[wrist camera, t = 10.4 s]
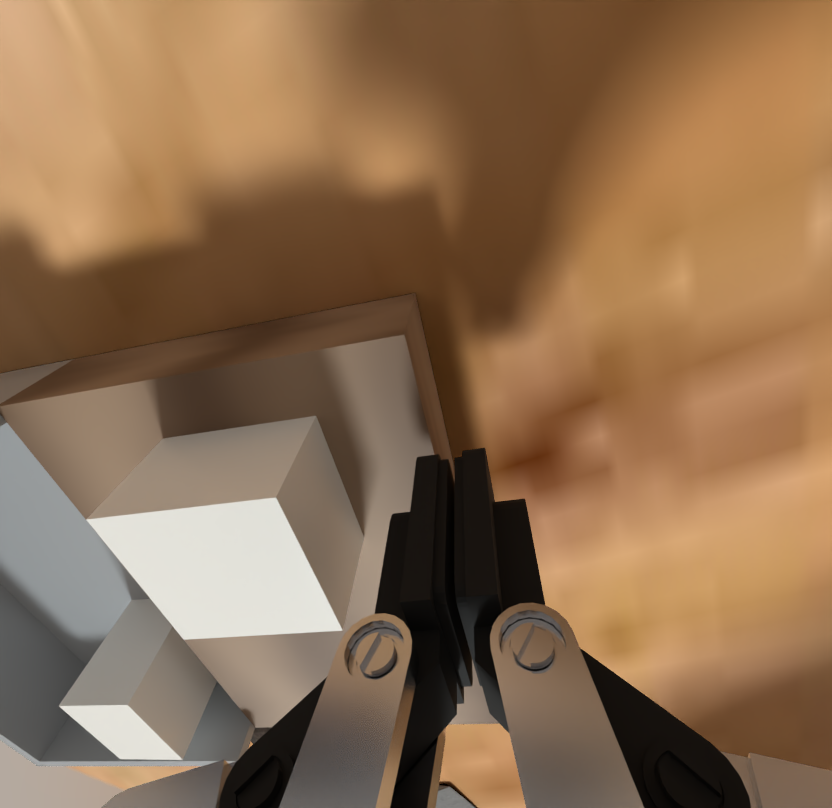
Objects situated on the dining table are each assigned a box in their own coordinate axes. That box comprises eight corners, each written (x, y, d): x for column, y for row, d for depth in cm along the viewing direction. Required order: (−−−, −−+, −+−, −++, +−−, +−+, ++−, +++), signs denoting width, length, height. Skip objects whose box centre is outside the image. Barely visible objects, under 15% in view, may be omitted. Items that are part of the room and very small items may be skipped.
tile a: (127, 704, 17) (58, 706, 17) (182, 759, 19) (120, 759, 19) (189, 596, 20) (131, 599, 21) (229, 652, 23) (176, 654, 23)
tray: (74, 358, 15) (-60, 439, 11) (276, 663, 24) (242, 766, 20) (-174, 406, 17) (-361, 489, 13) (100, 671, 26) (37, 766, 22)
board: (415, 292, 13) (404, 334, 10) (496, 653, 22) (501, 723, 19) (74, 358, 15) (-6, 407, 12) (276, 663, 24) (255, 727, 21)
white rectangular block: (316, 415, 12) (276, 497, 9) (364, 537, 14) (342, 630, 11) (163, 438, 12) (85, 519, 10) (231, 550, 15) (183, 639, 12)
